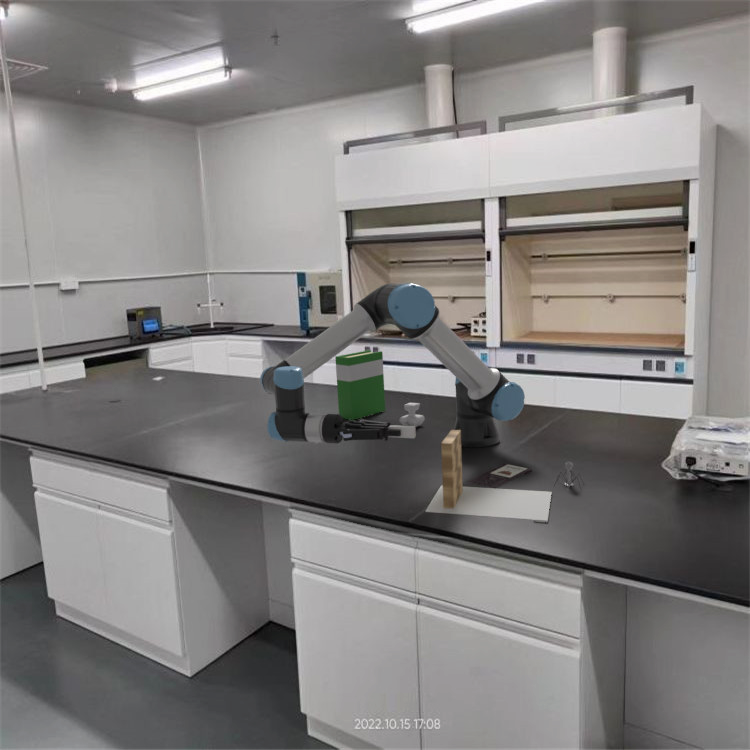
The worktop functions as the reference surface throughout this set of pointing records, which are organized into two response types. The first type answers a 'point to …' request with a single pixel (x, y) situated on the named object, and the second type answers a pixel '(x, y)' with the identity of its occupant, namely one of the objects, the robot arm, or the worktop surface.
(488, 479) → the chocolate bar
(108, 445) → the worktop surface
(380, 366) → the hardback book
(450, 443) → the plaque
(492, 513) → the mat
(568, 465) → the bacteriophage
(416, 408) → the stamp
